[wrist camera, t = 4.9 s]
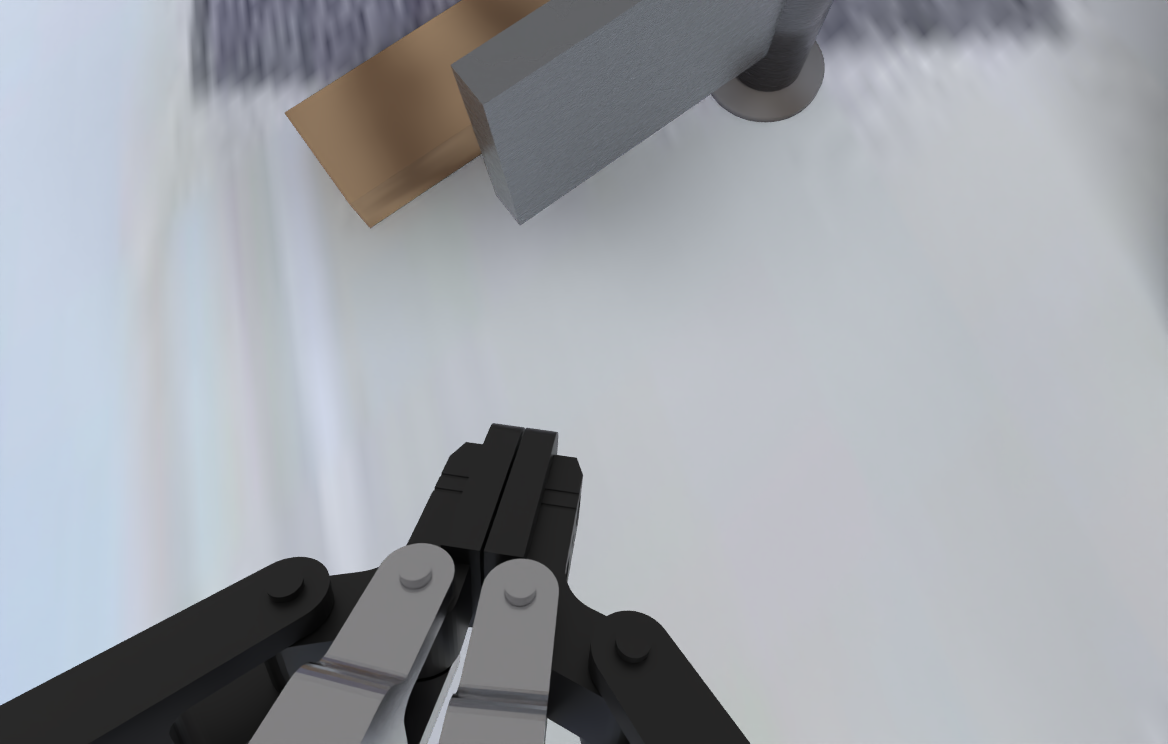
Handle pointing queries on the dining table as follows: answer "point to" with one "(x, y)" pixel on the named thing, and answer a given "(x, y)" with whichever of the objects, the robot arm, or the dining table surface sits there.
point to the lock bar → (615, 80)
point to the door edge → (449, 109)
